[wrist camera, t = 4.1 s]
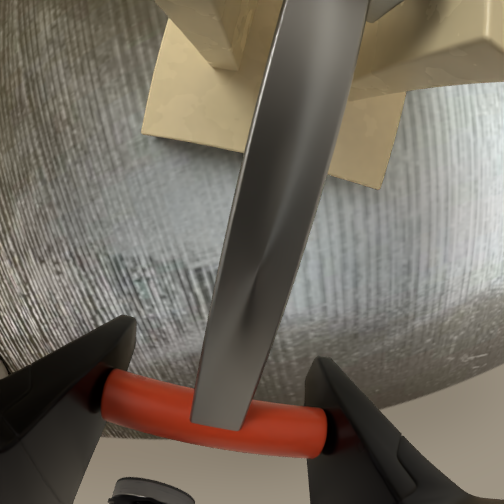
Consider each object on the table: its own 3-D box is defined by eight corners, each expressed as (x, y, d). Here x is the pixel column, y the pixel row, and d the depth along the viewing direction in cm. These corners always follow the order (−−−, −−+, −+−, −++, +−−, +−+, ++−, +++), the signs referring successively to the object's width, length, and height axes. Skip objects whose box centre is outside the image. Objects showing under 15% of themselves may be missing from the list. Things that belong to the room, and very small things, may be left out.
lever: (304, 413, 8) (312, 485, 6) (124, 378, 8) (96, 447, 6) (447, -42, 3) (507, -78, 1) (219, -109, 3) (205, -175, 1)
